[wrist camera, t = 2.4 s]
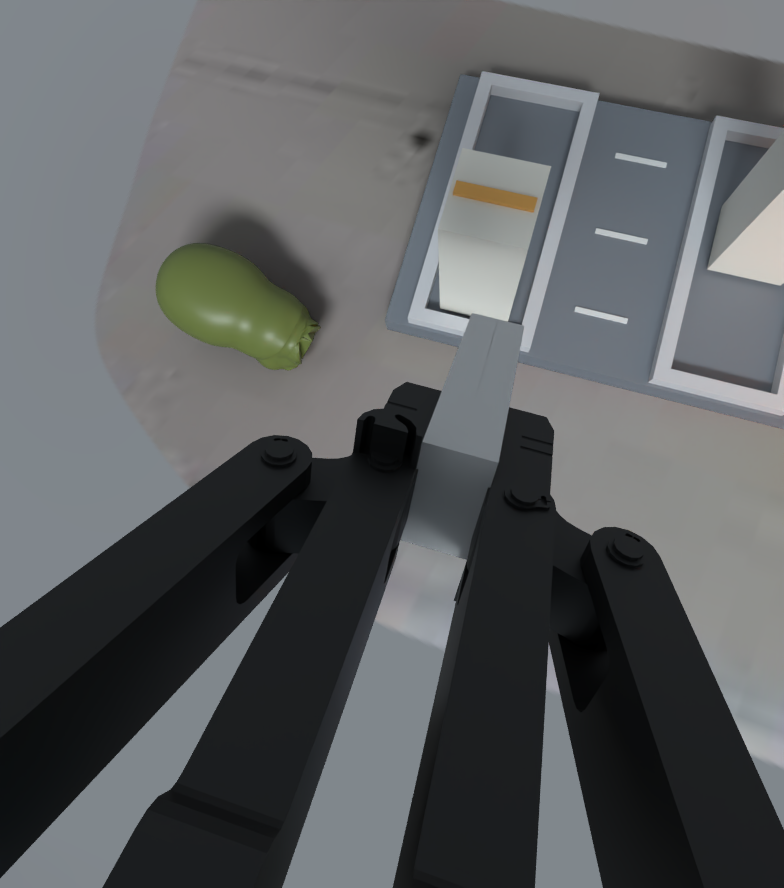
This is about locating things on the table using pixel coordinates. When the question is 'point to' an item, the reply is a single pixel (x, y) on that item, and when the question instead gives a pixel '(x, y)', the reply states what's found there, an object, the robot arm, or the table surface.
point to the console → (614, 247)
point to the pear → (233, 305)
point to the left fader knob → (487, 232)
